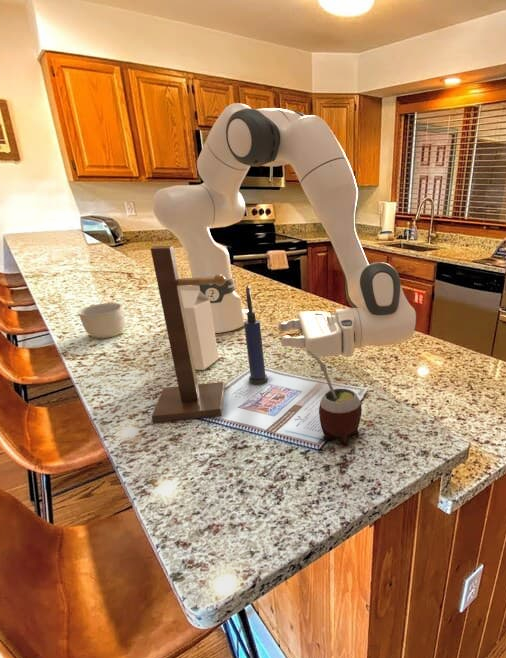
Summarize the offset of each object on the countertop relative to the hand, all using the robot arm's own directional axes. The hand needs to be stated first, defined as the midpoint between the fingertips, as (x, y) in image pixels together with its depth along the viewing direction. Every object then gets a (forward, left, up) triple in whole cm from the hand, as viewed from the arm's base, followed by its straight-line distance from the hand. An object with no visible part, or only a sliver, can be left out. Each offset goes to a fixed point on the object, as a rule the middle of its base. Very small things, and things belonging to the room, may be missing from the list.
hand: (279, 333), depth 90 cm
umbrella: (0, -5, -10) cm, 12 cm away
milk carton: (-13, -19, -11) cm, 26 cm away
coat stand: (+8, -17, -10) cm, 21 cm away
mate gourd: (+26, +8, -11) cm, 29 cm away
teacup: (-43, -48, -11) cm, 65 cm away
